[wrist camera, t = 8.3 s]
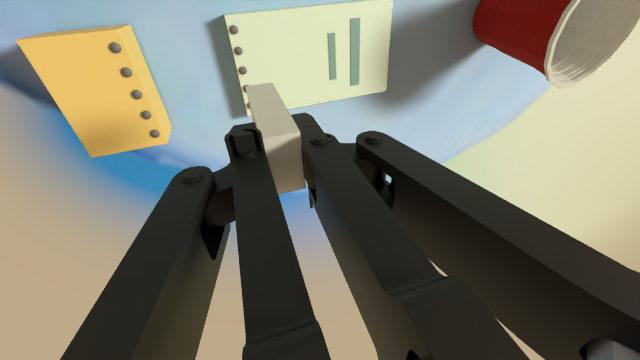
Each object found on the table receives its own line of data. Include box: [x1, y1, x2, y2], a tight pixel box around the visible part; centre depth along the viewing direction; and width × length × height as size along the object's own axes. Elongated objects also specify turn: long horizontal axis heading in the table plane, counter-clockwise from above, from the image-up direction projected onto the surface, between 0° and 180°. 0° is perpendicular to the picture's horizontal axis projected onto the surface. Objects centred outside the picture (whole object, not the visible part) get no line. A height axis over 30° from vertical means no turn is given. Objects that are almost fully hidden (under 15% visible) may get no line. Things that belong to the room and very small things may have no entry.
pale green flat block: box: [224, 0, 393, 116], centre depth 28 cm, size 9×16×2 cm, turn 95°
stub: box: [16, 24, 172, 158], centre depth 23 cm, size 9×6×4 cm, turn 5°
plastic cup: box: [473, 0, 640, 89], centre depth 28 cm, size 11×11×12 cm
